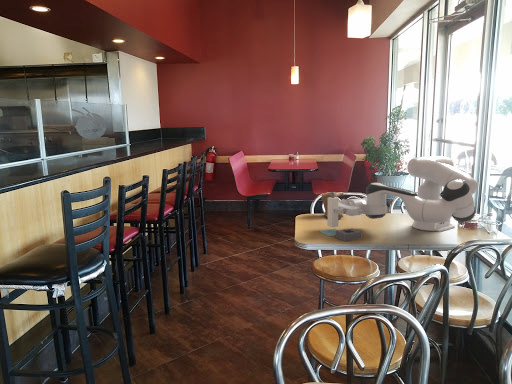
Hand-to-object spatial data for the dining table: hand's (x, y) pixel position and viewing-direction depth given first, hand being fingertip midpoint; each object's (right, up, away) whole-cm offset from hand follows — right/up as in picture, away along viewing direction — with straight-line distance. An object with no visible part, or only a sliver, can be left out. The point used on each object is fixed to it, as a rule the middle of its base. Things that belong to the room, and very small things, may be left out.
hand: (331, 209), depth 211 cm
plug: (+1, -9, +2) cm, 9 cm away
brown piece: (+7, -6, +39) cm, 40 cm away
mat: (+1, -12, +3) cm, 13 cm away
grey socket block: (+7, -14, -6) cm, 17 cm away
